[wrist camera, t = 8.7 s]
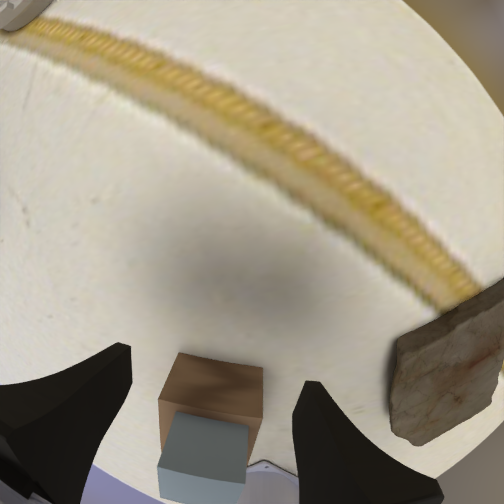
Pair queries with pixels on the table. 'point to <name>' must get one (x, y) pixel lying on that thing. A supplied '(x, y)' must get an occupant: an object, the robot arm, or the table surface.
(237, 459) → the slate cube
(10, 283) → the table surface
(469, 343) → the flat brown rock
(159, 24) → the table surface
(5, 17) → the flag stand
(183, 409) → the wood grain block
